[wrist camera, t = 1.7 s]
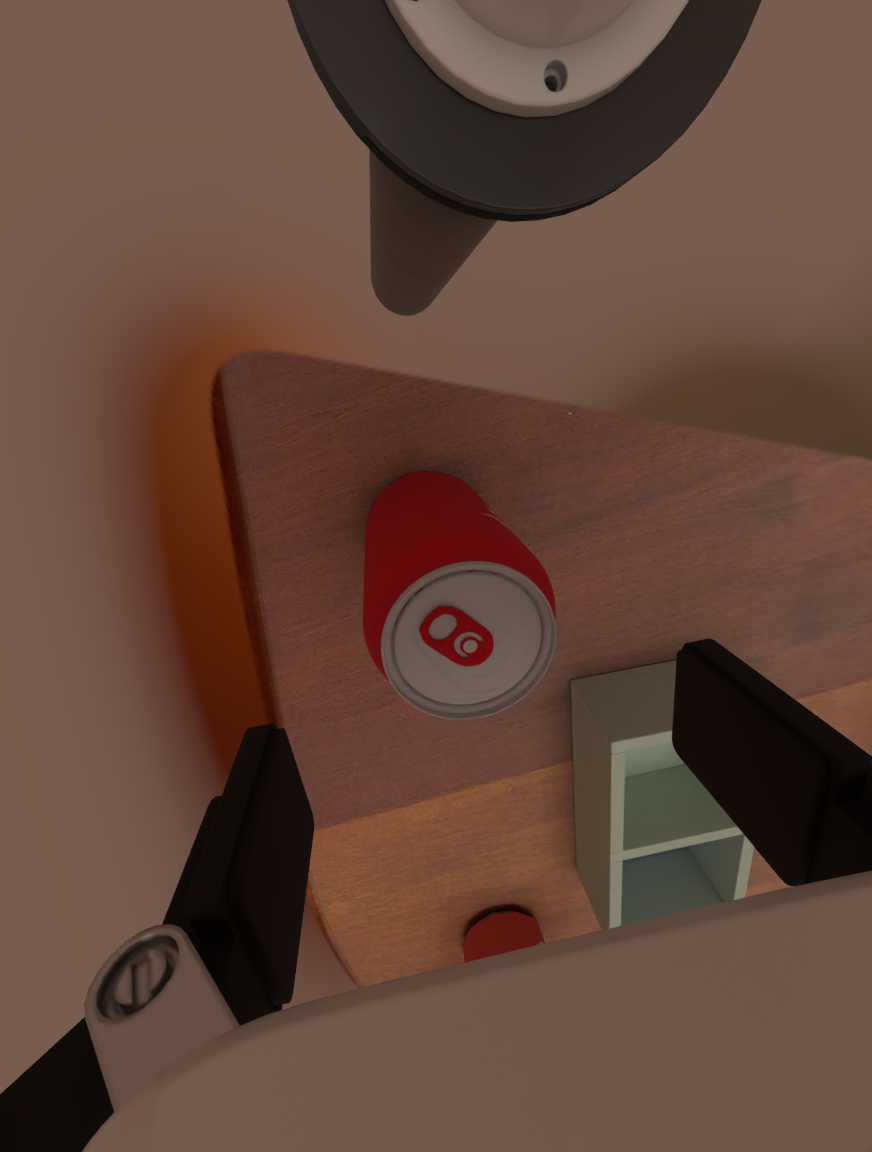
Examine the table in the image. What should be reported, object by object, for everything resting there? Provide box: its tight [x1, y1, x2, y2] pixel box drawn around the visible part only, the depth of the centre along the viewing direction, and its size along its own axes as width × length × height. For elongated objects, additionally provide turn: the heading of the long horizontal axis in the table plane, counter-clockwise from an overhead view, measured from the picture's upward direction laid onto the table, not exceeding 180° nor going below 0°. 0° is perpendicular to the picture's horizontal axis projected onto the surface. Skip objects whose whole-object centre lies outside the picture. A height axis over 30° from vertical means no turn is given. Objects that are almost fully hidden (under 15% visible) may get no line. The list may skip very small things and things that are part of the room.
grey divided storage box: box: [571, 660, 754, 930], centre depth 31 cm, size 18×9×6 cm, turn 8°
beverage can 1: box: [363, 472, 557, 720], centre depth 19 cm, size 6×6×12 cm
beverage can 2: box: [462, 910, 545, 962], centre depth 33 cm, size 6×6×12 cm
